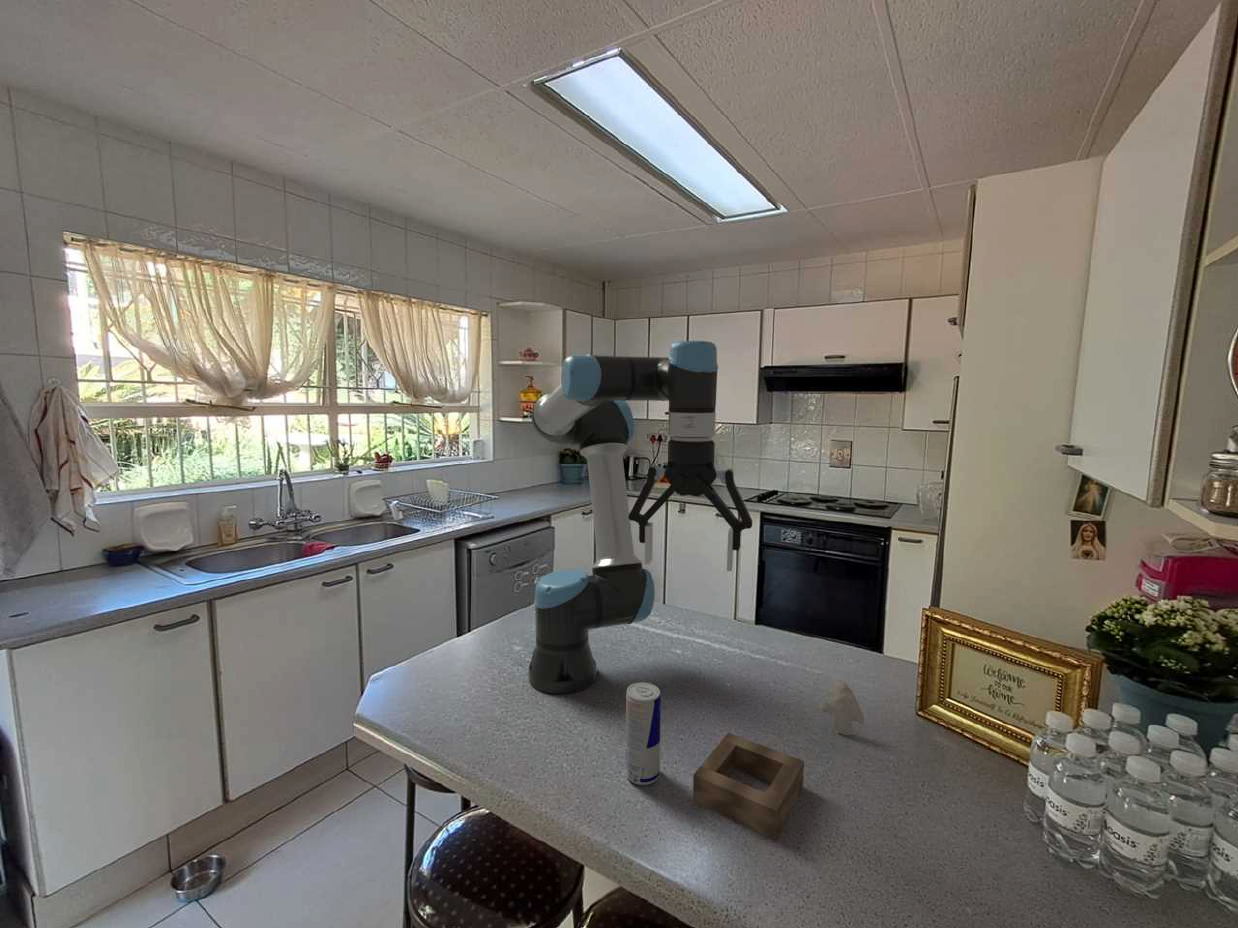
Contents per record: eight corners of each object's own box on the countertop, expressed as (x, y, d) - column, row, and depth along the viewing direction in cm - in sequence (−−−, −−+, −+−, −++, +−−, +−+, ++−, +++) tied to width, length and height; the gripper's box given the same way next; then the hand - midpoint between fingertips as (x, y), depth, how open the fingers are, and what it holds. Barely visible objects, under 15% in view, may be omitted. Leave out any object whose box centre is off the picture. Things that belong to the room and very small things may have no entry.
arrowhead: (865, 736, 101) (868, 685, 100) (861, 743, 99) (864, 691, 98) (820, 721, 106) (823, 672, 104) (816, 728, 103) (819, 678, 102)
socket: (692, 801, 85) (693, 774, 84) (727, 756, 95) (728, 732, 95) (775, 840, 77) (776, 811, 77) (802, 786, 88) (804, 760, 87)
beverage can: (657, 789, 87) (658, 701, 85) (622, 784, 88) (623, 697, 87) (661, 766, 93) (662, 683, 91) (629, 762, 94) (629, 679, 92)
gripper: (611, 438, 88) (610, 565, 91) (771, 443, 82) (765, 579, 85) (622, 434, 96) (621, 552, 98) (770, 438, 89) (765, 564, 92)
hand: (688, 565), depth 92 cm, fingers open, 13 cm apart
